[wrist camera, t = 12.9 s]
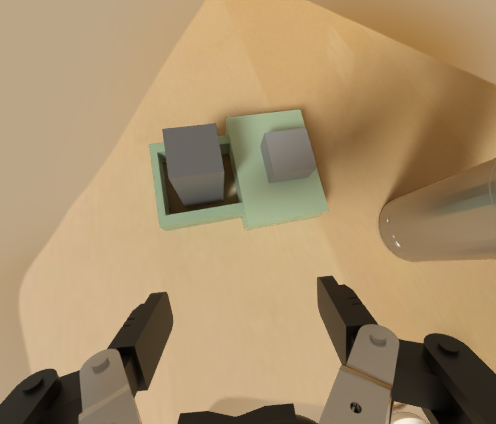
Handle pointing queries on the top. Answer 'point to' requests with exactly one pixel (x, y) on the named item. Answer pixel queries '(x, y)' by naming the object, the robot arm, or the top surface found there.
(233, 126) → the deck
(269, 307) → the top surface
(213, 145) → the tall slate pillar
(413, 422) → the figurine
